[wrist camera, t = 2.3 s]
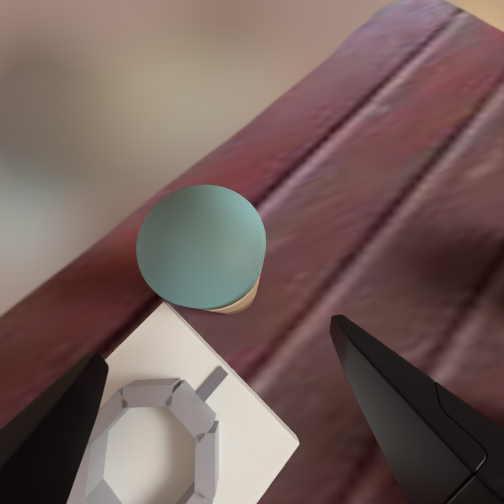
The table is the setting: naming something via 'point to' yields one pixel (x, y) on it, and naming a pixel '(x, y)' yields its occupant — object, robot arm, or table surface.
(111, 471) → the hub plate
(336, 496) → the table surface
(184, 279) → the teal capped wooden cylinder
